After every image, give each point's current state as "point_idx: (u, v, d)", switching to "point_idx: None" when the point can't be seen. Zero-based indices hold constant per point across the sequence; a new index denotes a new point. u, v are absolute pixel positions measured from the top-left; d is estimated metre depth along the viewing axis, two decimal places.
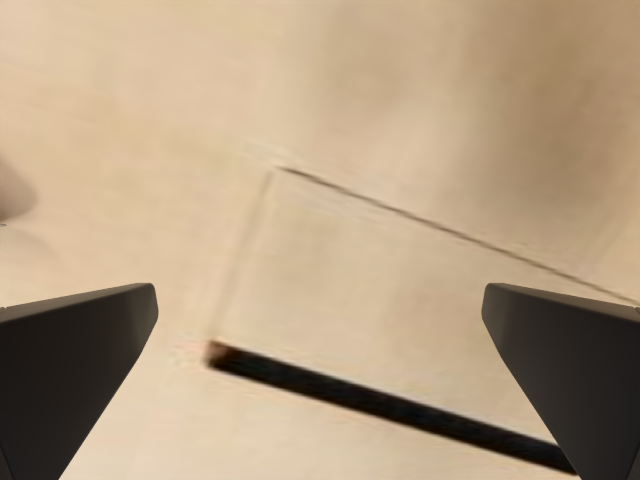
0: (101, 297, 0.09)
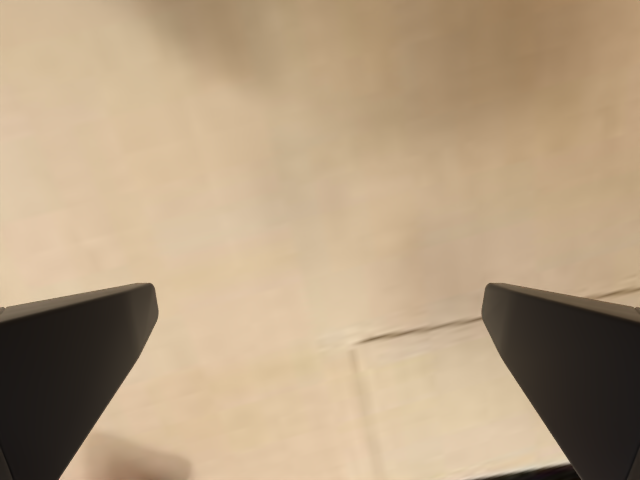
0: (101, 297, 0.09)
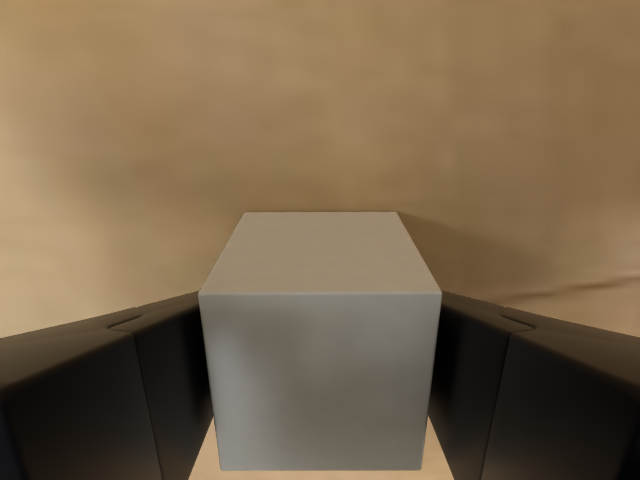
0: None
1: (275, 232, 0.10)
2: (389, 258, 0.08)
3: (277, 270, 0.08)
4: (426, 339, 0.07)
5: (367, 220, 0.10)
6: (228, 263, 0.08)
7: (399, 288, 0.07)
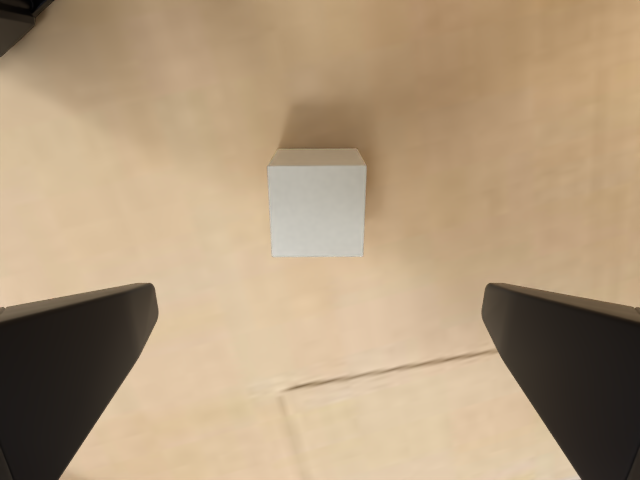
0: (101, 297, 0.09)
1: (295, 153, 0.20)
2: (348, 159, 0.18)
3: (298, 161, 0.18)
4: (361, 186, 0.17)
5: (341, 150, 0.21)
6: (276, 160, 0.18)
7: (349, 164, 0.17)
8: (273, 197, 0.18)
